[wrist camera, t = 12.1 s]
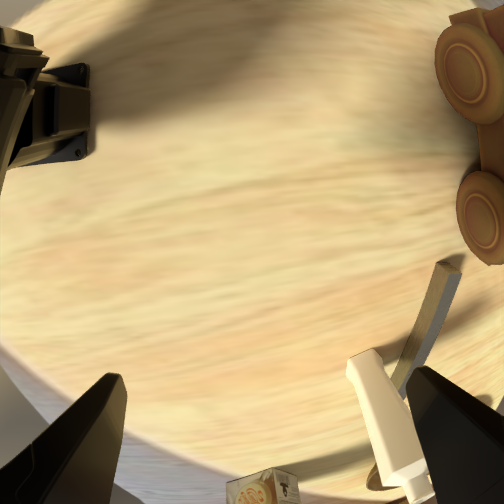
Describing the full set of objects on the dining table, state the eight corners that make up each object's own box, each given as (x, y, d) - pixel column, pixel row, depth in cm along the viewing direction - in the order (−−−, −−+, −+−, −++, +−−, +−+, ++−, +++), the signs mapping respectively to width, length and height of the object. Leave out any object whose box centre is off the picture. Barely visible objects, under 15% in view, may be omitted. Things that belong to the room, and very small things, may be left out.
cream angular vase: (381, 374, 27) (438, 496, 13) (341, 383, 27) (388, 517, 13) (389, 341, 25) (463, 474, 11) (346, 351, 25) (407, 500, 11)
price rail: (366, 423, 31) (371, 435, 29) (436, 262, 22) (449, 273, 20) (379, 420, 31) (384, 432, 29) (451, 262, 22) (464, 273, 20)
